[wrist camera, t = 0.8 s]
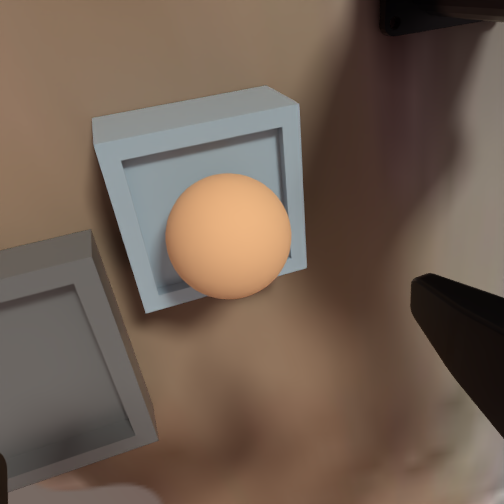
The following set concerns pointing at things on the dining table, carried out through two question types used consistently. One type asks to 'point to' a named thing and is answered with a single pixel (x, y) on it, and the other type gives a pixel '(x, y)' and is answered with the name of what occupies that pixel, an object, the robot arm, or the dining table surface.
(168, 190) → the light blue storage bin
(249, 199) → the ball
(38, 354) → the tray
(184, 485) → the dining table surface
